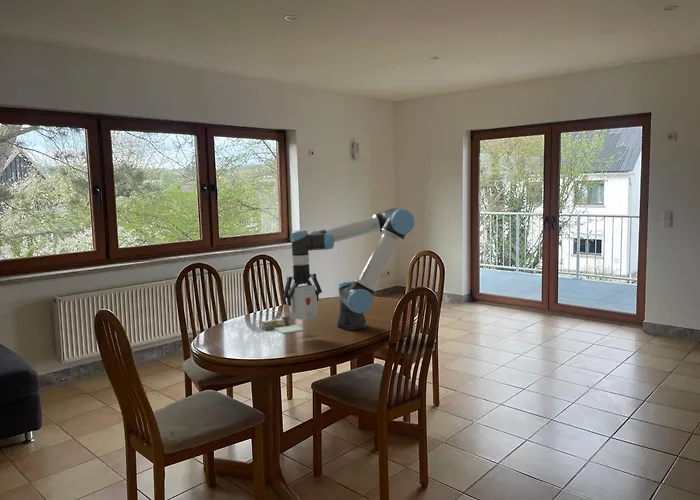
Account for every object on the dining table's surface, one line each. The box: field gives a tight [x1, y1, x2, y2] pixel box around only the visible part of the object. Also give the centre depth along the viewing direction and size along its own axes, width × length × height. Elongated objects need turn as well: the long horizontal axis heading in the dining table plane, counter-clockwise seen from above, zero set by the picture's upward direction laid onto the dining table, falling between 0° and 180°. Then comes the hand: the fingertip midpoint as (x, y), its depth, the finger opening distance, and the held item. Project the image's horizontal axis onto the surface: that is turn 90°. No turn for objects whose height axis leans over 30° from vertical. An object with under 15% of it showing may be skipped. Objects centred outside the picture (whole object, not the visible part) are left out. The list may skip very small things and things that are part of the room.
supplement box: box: [289, 284, 318, 321], centre depth 252 cm, size 9×9×15 cm
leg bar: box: [261, 315, 290, 330], centre depth 270 cm, size 14×4×4 cm, turn 118°
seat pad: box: [273, 324, 305, 335], centre depth 264 cm, size 11×11×1 cm
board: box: [263, 320, 274, 331], centre depth 269 cm, size 28×22×5 cm
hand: (303, 310), depth 252 cm, fingers closed on supplement box, 11 cm apart
